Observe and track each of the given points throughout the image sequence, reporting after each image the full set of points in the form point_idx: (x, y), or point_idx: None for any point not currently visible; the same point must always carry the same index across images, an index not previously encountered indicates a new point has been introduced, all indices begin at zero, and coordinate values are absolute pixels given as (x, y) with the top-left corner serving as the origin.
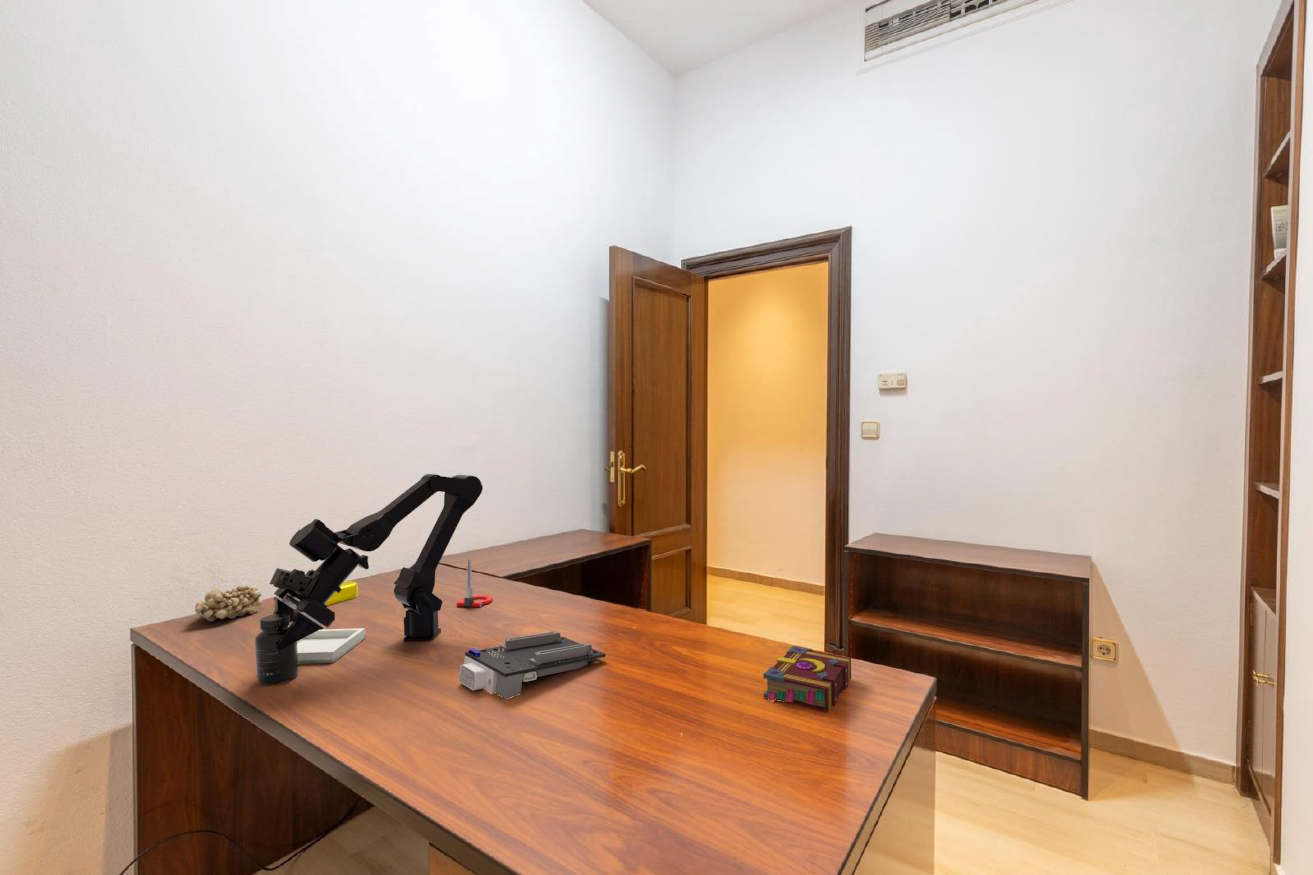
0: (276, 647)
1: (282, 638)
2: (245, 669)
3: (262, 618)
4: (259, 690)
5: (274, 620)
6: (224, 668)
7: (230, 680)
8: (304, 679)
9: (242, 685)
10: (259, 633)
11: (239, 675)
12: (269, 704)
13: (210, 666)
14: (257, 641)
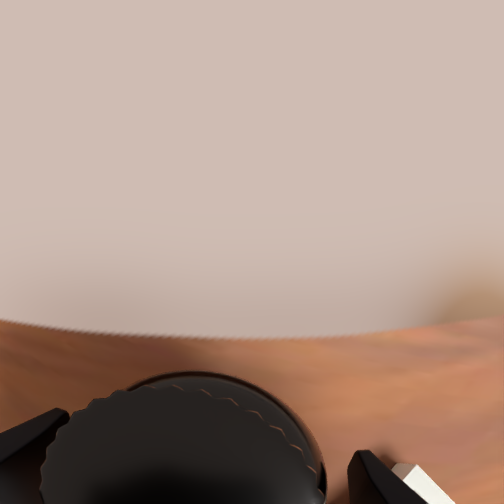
0: (55, 409)
1: (16, 428)
2: (402, 409)
3: (255, 431)
4: None
5: (53, 455)
6: (452, 363)
7: (340, 355)
8: None
9: (258, 366)
10: (242, 404)
11: (363, 385)
12: (42, 345)
13: (484, 337)
14: (180, 371)
